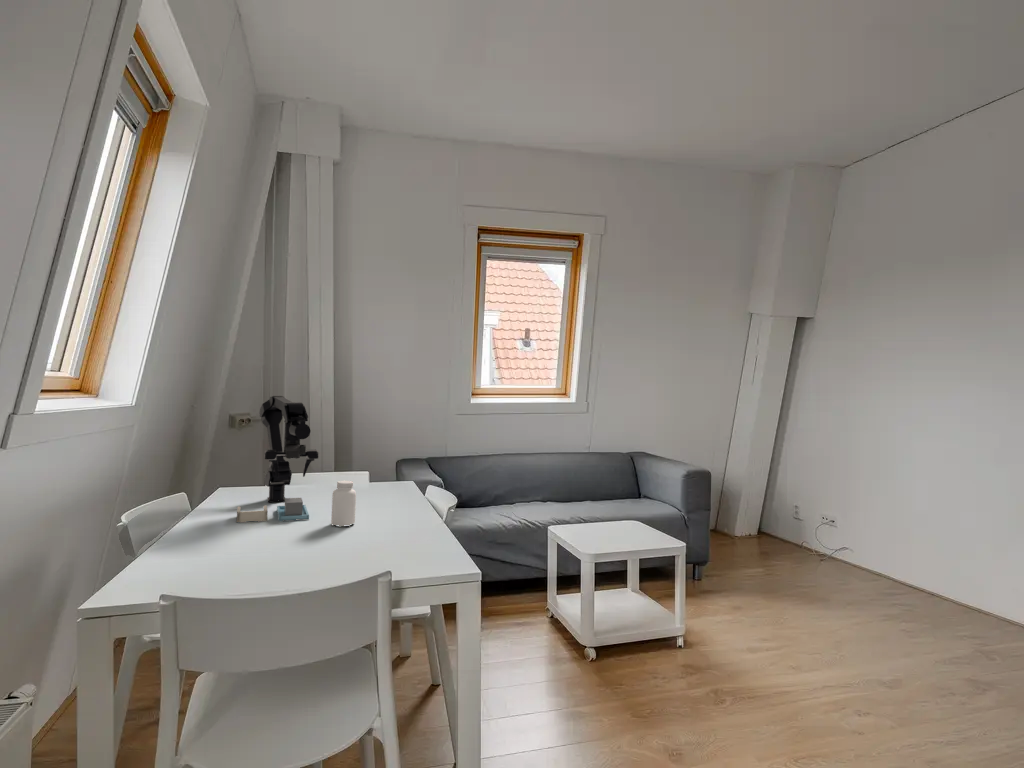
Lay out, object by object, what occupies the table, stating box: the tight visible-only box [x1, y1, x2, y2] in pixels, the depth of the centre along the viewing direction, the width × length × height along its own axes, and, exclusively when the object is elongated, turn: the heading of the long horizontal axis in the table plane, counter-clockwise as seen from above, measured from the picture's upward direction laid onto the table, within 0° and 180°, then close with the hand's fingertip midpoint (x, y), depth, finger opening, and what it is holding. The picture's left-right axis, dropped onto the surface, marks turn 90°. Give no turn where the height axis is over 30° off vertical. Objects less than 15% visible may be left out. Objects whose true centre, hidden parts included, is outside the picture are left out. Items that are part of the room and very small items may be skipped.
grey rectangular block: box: [284, 497, 304, 516], centre depth 215 cm, size 12×6×6 cm, turn 25°
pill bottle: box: [330, 480, 357, 526], centre depth 207 cm, size 8×8×15 cm
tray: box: [276, 504, 310, 522], centre depth 216 cm, size 15×10×2 cm, turn 24°
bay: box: [236, 504, 269, 523], centre depth 208 cm, size 8×10×4 cm
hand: (290, 477), depth 224 cm, fingers open, 9 cm apart
